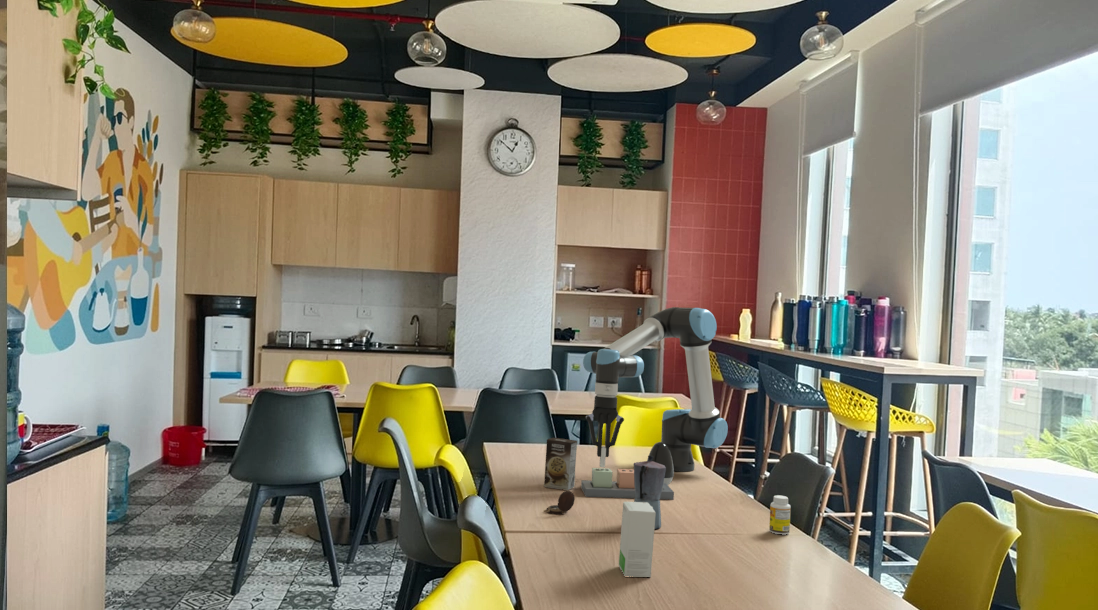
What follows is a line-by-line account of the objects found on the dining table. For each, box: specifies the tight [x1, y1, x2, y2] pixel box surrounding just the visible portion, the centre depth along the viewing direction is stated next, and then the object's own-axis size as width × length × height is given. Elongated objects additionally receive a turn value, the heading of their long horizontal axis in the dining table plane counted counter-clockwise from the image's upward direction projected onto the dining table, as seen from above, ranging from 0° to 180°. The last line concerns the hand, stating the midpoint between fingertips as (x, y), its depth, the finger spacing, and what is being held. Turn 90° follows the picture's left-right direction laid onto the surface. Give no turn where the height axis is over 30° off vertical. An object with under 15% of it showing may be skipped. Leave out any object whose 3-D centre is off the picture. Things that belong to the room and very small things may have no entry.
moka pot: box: [633, 454, 666, 530], centre depth 228 cm, size 10×15×20 cm, turn 161°
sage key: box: [591, 467, 613, 487], centre depth 267 cm, size 6×6×5 cm
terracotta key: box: [616, 468, 635, 488], centre depth 268 cm, size 6×6×5 cm
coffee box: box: [543, 437, 578, 491], centre depth 272 cm, size 9×6×16 cm
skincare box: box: [618, 501, 656, 578], centre depth 187 cm, size 8×7×16 cm
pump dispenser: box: [646, 441, 675, 486], centre depth 284 cm, size 10×10×15 cm
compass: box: [543, 490, 576, 515], centre depth 238 cm, size 8×8×7 cm
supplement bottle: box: [768, 494, 791, 536], centre depth 228 cm, size 6×6×10 cm
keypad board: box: [580, 479, 675, 501], centre depth 268 cm, size 29×13×2 cm, turn 94°
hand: (602, 466), depth 267 cm, fingers closed
